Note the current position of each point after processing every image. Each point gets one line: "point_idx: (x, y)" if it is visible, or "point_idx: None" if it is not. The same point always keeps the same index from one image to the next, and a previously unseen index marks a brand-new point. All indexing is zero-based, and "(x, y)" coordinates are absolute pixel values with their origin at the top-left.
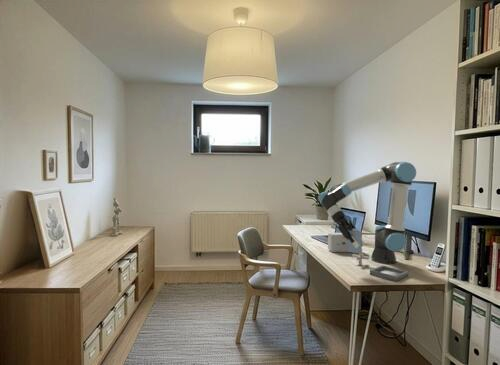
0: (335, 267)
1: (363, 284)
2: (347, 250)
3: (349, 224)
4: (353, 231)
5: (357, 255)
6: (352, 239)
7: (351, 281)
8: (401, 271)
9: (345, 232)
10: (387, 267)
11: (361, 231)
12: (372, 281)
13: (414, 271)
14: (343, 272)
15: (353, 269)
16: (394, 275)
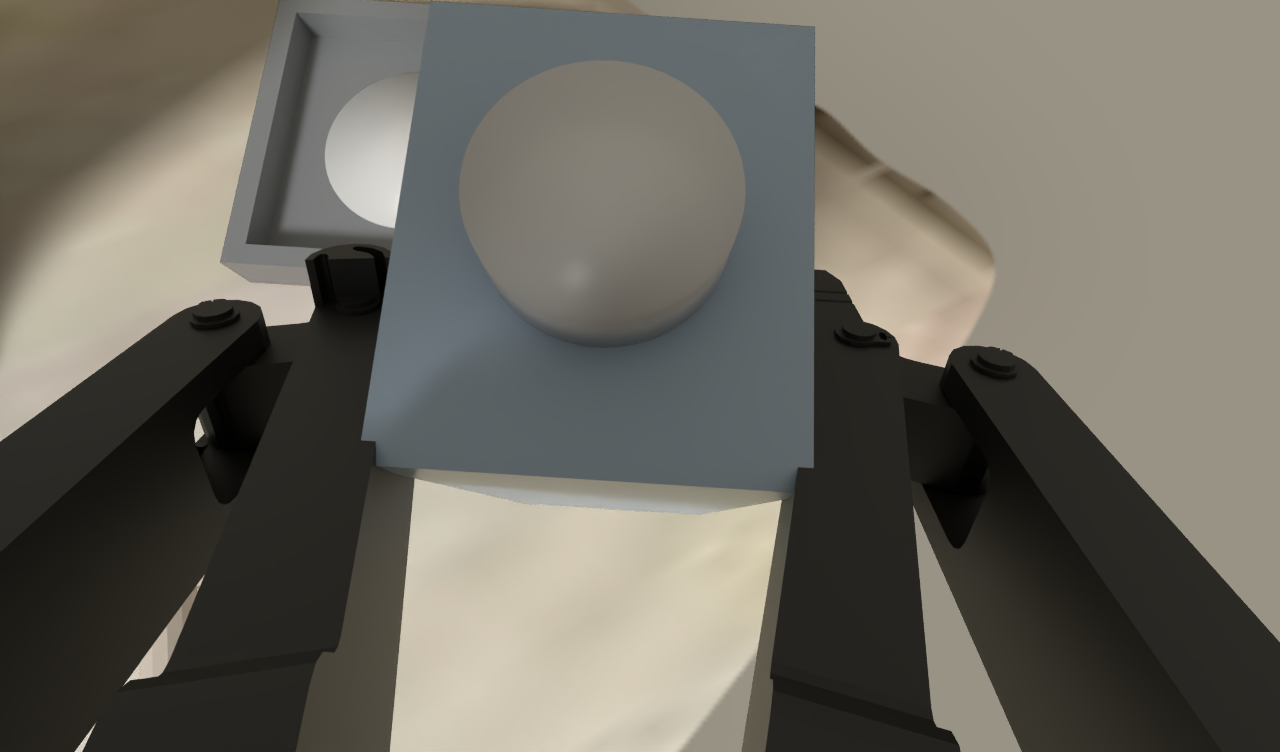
0: (606, 737)
1: (896, 206)
2: (699, 514)
3: (220, 733)
4: (788, 209)
5: None
6: (824, 297)
7: (919, 323)
8: (293, 59)
9: (1106, 451)
10: (258, 201)
11: (480, 10)
12: None
13: (86, 41)
14: (716, 542)
15: (506, 520)
16: None
